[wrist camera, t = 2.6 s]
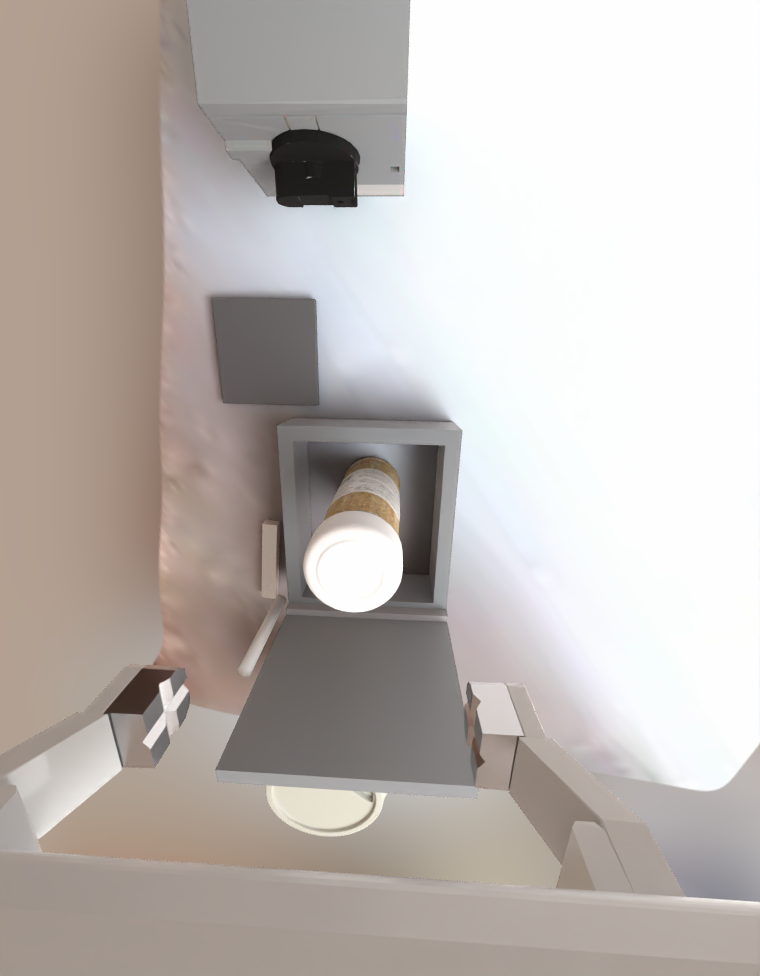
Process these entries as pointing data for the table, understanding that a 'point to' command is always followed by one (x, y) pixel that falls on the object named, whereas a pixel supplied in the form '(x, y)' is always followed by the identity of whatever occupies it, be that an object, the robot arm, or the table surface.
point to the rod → (270, 558)
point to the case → (357, 654)
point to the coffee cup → (324, 809)
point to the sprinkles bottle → (358, 541)
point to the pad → (267, 350)
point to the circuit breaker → (307, 93)
